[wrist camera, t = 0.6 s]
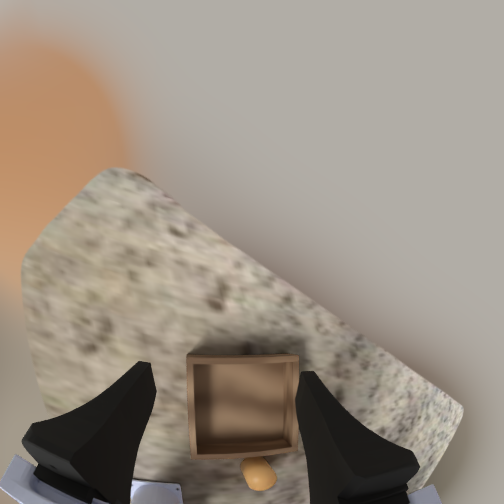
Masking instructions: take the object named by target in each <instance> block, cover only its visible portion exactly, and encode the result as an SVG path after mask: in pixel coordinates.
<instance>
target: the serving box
mask: <svg viewBox="0 0 504 504" xmlns="http://www.w3.org/2000/svg"><path fill="white" fill-rule="evenodd" d="M186 358H187V401H188V422H189V438H190V452H191V459H195V460H207V459H234V458H248V457H258V456H267V455H274V454H281V453H288V452H294V451H298V421H297V415H296V406H295V397H296V393H297V388H298V384H299V355H294V354H288V353H283V354H262V355H190V354H187V357H186Z"/></svg>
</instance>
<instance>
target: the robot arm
mask: <svg viewBox="0 0 504 504" xmlns="http://www.w3.org/2000/svg"><path fill="white" fill-rule="evenodd" d="M156 392H157V391H156V386H155V382H154V378H153V373H152V368H151V363H148V362H142V361H138V362H137V363H136V364H135V365H134V366H133V367H132V368H131V369H129V370H128V371H127V372H126V373H125V374H124V375H123V376H122V377H121V378H119V379H118V380H117V381H116V382H115V383H114V384H113V385H111V386H110V387H109V388H108V389H106V390H105V391H104V392H102V393H101V394H100V395H98V396H97V397H95V398H94V399H92V400H91V401H89V402H88V403H86V404H84V405H82V406H81V407H79V408H76V409H74V410H72V411H70V412H68V413H66V414H63V415H61V416H58V417H55V418H52V419H49V420H45V421H41V422H36V423H32V425H31V426H30V428H29V429H28V431H27V432H26V434H25V436H24V437H23V439H22V444H23V446H24V447H25V449H26V450H27V451H28V452H29V454H30V455H31V456H32V457H33V458H34V459H35V460H36V461H37V462H38V463H39V464H38V466H37V467H35V466H34V465H33V464H31V463H30V462H28V461H26V460H25V459H23V458H22V457H20V456H19V455H17V454H15V456H14V457H13V459H12V461H11V463H10V464H9V466H8V468H7V470H6V471H5V473H4V475H3V477H2V479H1V481H0V488H1V489H2V490H3V491H4V492H6V493H7V494H8V495H9V496H11V497H12V498H13V499H15V500H16V501H17V502H19V503H20V504H130V496H131V499H132V501H131V504H183V499H182V493H181V486H180V484H175V483H160V482H149V481H141V480H133V472H134V467H135V461H136V457H137V452H138V448H139V444H140V441H141V439H142V436H143V433H144V431H145V428H146V425H147V423H148V420H149V417H150V415H151V412H152V409H153V406H154V401H155V397H156ZM295 406H296V415H297V421H298V425H299V429H300V433H301V437H302V441H303V445H304V449H305V454H306V459H307V468H308V478H309V491H310V504H442V502H441V500H440V498H439V496H438V493H437V491H436V489H435V487H434V485H433V484H431V485H429V486H427V487H424V488H422V489H420V490H417V491H415V492H413V493H411V494H409V495H408V496H407V493H406V491H407V490H408V486H407V484H406V483H407V482H408V481H409V480H410V479H411V478H412V477H413V476H414V475H415V474H416V473H417V472H418V470H419V468H420V465H419V463H418V461H417V459H416V457H415V455H414V453H413V452H412V451H411V450H408V449H405V448H403V447H400V446H398V445H396V444H393V443H392V442H390V441H388V440H386V439H384V438H382V437H380V436H379V435H377V434H376V433H374V432H373V431H371V430H369V429H368V428H367V427H365V426H364V425H363V424H361V423H360V422H359V421H358V420H356V419H355V418H354V417H353V416H352V415H351V414H350V413H349V412H348V411H347V410H346V409H345V408H344V407H343V406H342V405H341V404H340V403H339V402H338V401H337V400H336V399H335V397H334V396H333V395H332V394H331V393H330V392H329V390H328V389H327V388H326V386H325V385H324V384H323V383H322V381H321V380H320V379H319V377H318V376H317V374H316V373H315V372H314V371H303V372H301V375H300V379H299V384H298V388H297V393H296V397H295ZM132 484H133V485H132ZM176 488H179V489H176Z"/></svg>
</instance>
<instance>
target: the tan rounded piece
mask: <svg viewBox="0 0 504 504" xmlns="http://www.w3.org/2000/svg"><path fill="white" fill-rule="evenodd" d="M240 468H241V471H242V473H243V475H244V477H245V479H246V481H247V484H248V486H249V487H250V488H251V489H253V490H257V491H263V490H267V489H269V488H271V487H272V486H273V485H274V484H275V483H276V480H277V476H276V474H275V472H274V471H273V469H272V468H271V467H270V465H269V464H268V463H267V461H266V460H265V459H264V458H263V457H262V456H258V457H248V458H245V459H244V460H243V461H242V462H241V465H240Z"/></svg>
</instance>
